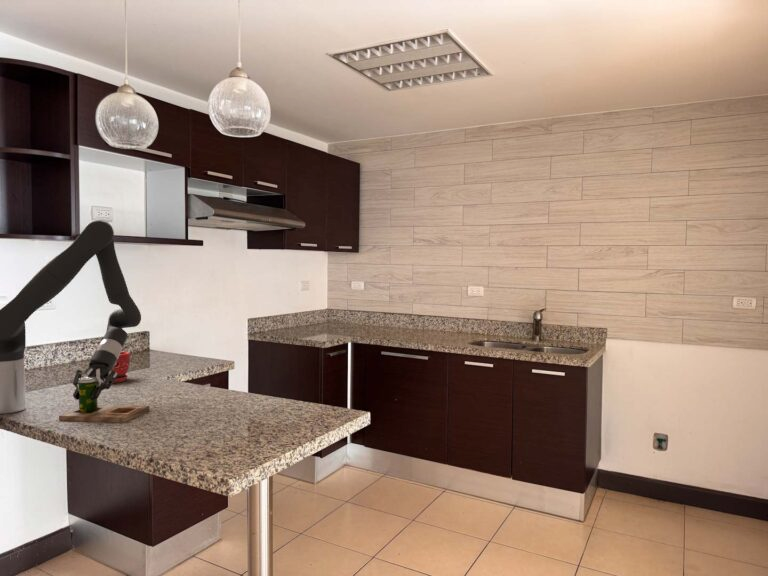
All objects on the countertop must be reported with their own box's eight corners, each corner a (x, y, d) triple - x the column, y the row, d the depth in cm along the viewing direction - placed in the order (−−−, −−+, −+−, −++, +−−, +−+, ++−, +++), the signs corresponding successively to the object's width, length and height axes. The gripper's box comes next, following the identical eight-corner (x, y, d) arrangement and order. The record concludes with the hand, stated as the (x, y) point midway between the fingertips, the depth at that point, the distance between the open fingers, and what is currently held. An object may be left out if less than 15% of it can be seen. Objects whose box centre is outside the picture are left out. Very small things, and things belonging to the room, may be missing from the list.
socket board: (59, 420, 173) (58, 414, 173) (88, 408, 187) (88, 403, 187) (124, 422, 170) (124, 416, 170) (149, 410, 184) (149, 405, 184)
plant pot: (129, 383, 226) (128, 354, 225) (93, 386, 221) (92, 356, 221) (131, 377, 238) (130, 349, 237) (97, 379, 233) (96, 351, 233)
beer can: (90, 411, 183) (89, 375, 182) (101, 413, 180) (100, 377, 180) (75, 415, 178) (74, 379, 177) (86, 417, 176) (85, 380, 175)
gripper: (81, 348, 186) (57, 392, 175) (121, 349, 185) (99, 393, 173) (92, 361, 192) (69, 404, 181) (130, 362, 190) (110, 405, 179)
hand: (84, 398), depth 177 cm, fingers closed on beer can, 5 cm apart
